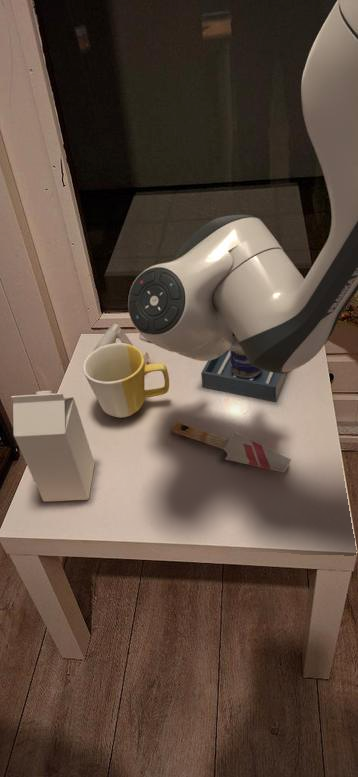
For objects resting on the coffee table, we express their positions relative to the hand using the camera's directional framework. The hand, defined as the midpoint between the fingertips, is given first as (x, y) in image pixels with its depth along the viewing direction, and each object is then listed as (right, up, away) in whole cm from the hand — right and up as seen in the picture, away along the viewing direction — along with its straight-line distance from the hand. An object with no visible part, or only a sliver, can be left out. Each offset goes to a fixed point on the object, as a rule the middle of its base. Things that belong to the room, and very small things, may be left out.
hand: (228, 341), depth 84 cm
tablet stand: (-18, -5, +20) cm, 27 cm away
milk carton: (-25, -22, +2) cm, 33 cm away
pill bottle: (+5, -4, +15) cm, 16 cm away
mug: (-16, -11, +13) cm, 23 cm away
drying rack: (+5, -5, +16) cm, 17 cm away
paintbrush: (0, -17, +3) cm, 18 cm away
